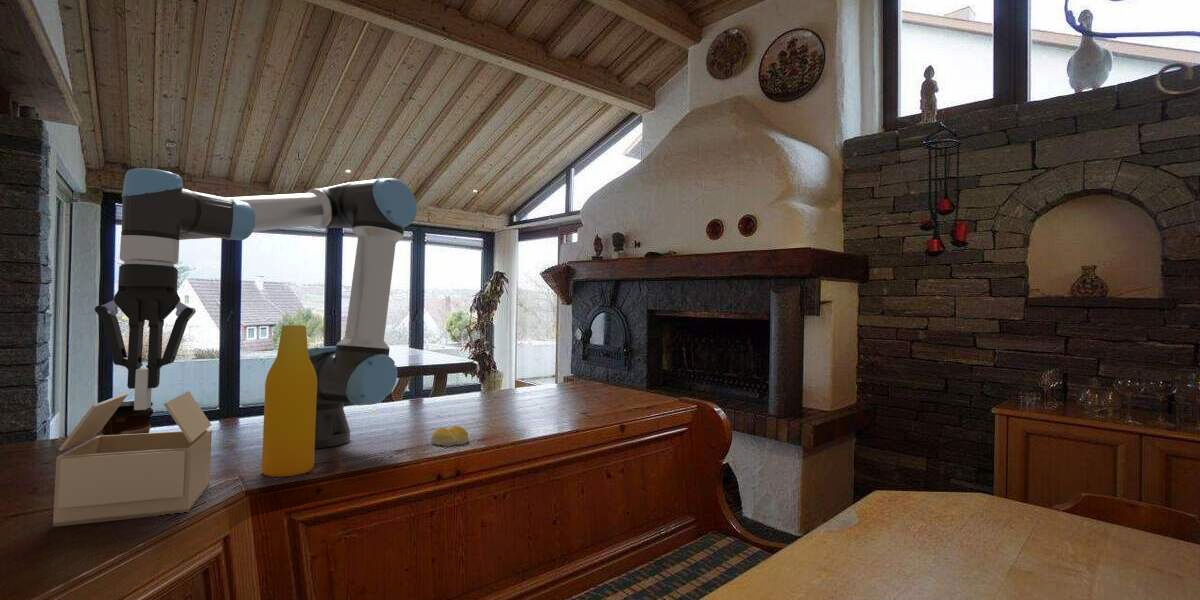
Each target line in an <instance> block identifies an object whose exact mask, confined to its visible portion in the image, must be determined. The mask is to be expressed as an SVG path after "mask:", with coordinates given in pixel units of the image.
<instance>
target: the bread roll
mask: <svg viewBox="0 0 1200 600" xmlns="http://www.w3.org/2000/svg"><path fill="white" fill-rule="evenodd" d="M430 440H431V441H430V442H431V443H432V444H433V445H435V444H436V445H435V446H440V445H443V446H442V447H451V446H455V445H456V446H459V445H460V446H461V445H465V444H467V443H469V441H470V439H469V433H468V431H467V430H466V428H464V427H462V426H459V425H458V426H457V425H454V426H451V427H449V428H446V427H444V428H438V429H436V430H435V431H434V432H433V433H432V434H431V438H430Z"/></svg>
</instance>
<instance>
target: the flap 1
mask: <svg viewBox="0 0 1200 600" xmlns="http://www.w3.org/2000/svg"><path fill="white" fill-rule="evenodd" d="M128 395H129V393H127V392H125V393H122V394H119V395H116V396H114V397H112V398H109V399H107V400H103V401H101V402H98V403H96V404H92V406H91V407H90V408H89V410H87V412H86V413H85V415H84V416H82V418H81V420H80V421H79V422H78V424H76V426H75V428H73V430H72V431H71V433H70V434H69V435H68V437H67V438H66V439H65V441H64V442H63V443H62V444H61V445H60V447H59V448H58V450H59V451H64V450H67V449H68V448H71V447H72V446H74V445H76V444H78V443H80V442H82V441H84V440H86V439H88V438H90V437H92V436H95V435H96V434H99V433H101V430H102V428H103V427H104V426H105V424H106V423H107V422H108V420H109V419H110V418H111V416H112V415H113V414H114V412H115V411H116V410H117V408H118V407H119V406H120V405H121V403H122V402H125V399H126V398H127V397H128Z"/></svg>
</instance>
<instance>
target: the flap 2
mask: <svg viewBox="0 0 1200 600" xmlns="http://www.w3.org/2000/svg"><path fill="white" fill-rule="evenodd" d="M163 406H164V407H165V408H166V411H167V412H168V414H169V415H170V416H171V417H172V419H173V421H175V423H176V425H177V426H178V428H179V429H180V430H181V431H182V432H183V434H184V435H185V437H186V438H187V439H188V441H189V442H192V441H194V440H195V439H196V438H197V437H198V436H199V435H201V434H202V433H203V432H204V431H205V430H208V428H210V427H211V426H212V423H211V422H210V420H209V419H208V417H207V415H206V414H205V413H204V411H203V410H202V408H201V407H200V405H199V404H198V402H197V401H196V399H195V397H194V396H193V395H192V393H191V392H190V390H188V391H187V392H184V393H183V394H179V396H177V397H175V398H173V399H170V400H169V401H166V402H165V403H163Z"/></svg>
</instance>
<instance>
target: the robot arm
mask: <svg viewBox="0 0 1200 600" xmlns="http://www.w3.org/2000/svg"><path fill="white" fill-rule="evenodd" d="M183 184H184V183H183V178H182V177H181V176H180V175H179V174H177V173H173V172H170V171H166V170H163V169H162V170H161V169H156V168H147V167H138V168H132V169H128V171H126V173H125V175H124V180H123V186H122V193H121V198H122V201H121V203H122V207H121V212H122V213H121V231H120V246H119V247H120V248H119V258H118V259H119V260H120V261H122V262H124V263H122V264H120V265H119V266H118V281H117V282H118V283H117V284H118V285H117V286H118V287H117V292H116V293H115V294H114V296H113V300H111V301H109V302H107V303H105V304H102V305H100V304H99V305H96V306H95V307H94V311H95V313H96V314H97V315H98V317H99V318H100V319H101V321H102V323H103V328H104V331H105V332H104V333H105V335H106V339H107V344H108V348H109V351H110V354H111V359H112V362H113V364H114V365H116V366H120V367H123V368H124V367H125V368H126V369H127V382H126V383H127V384H126V386H127V388H128V389H129V390H131V389H132V390H133V389H134V399H133V401H134V410H146V409H148V408H150V407H151V408H152V406H151V402H152V389H156V388H158V387H159V386H160V380H161V379H160V378H161V377H160V376H161V368H162V367H163V366H166V365H170V364H173V363H174V362H175V360H176V357H177V354H178V351H179V349H180V345H181V344H182V343H181V342H182V340H183V337H184V334H185V331H186V328H187V325H188V322H189V321H190V320H191V318H192V317H193V316H194V315H195V314H196V312H197V310H196V309H195V308H194V307H190V306H188V305H186V304H184V303H183V302H182V301H181V298H180V296H179V293H178V279H179V277H178V276H179V269H177V267H175V265H177V264H178V263H179V261H180V259H179V256H180V255H179V253H180V241H183V240H201V239H212V238H215V239H223V240H224V239H225V240H226V241H230V240H231V241H243V240H246V239H248V238H249V237H250V236H251V235H252V234H253V232H255V233H256V232H262V231H272V230H281V229H290V228H298V227H306V226H307V227H308V226H309V227H310V226H312V227H313V228H315V229H329V228H333V229H334V228H337V229H339V228H340V229H351V230H352V232H353V233H354V234H355V235H356V236H357V244H356V250H355V258H354V266H353V273H352V279H351V288H350V296H349V303H348V310H347V317H346V318H347V319H346V326H345V333H344V337H343V338H342V339H341V340H339V341H338V342H337V343H336V345H334V346H333V345H332V346H317V347H308V355H309V358H310V361H311V363H312V365H313V367H314V369H315V372H316V376H317V400H316V426H315V449H324V448H325V449H326V448H330V447H337V446H340V445H341V446H342V445H344V444H346V443H348V442H350V441H351V429H350V426H349V423H348V419H347V417H346V412H345V408H344V406H345V405H344V404H345V403H347V404H353V405H356V406H364V405H366V406H367V405H376V404H379V403H381V402H382V401H384V400H385V399H386V398H387V396H389V395H390V394H391V393H392V391H393V390H394V388H395V385H396V383H397V380H398V366H397V365H396V364H395V363H396V362H395V361H394V359H393V358H392V357H390V349H391V348H390V346H389V345H388V344H387V342H386V341H385V335H386V326H387V318H388V311H389V310H388V309H389V301H390V294H391V287H392V276H393V272H394V271H393V269H394V261H395V252H396V245H397V243H398V242H399V241H401V240H402V239H403V238H404V235H405V233H404V232H405V228H406V227H408V226H409V225H411V224H412V223H413V222H414V221H415V220H416V217H417V215H418V214H417V212H418V208H417V201H416V198H415V195H414V194H413V192H412V191H411V189H410V187H409V186H408V185H407V184H406V183H405V182H404V181H402V180H400V179H398V178H394V177H389V178H385V177H379V178H376V179H375V178H374V179H368V180H360V181H359V180H358V181H349V182H345V183H341V184H336V185H331V186H326V187H318V188H310V189H308V190H307V191H306V192H305V193H303V192H302V193H284V194H272V195H271V194H269V195H268V194H267V195H251V196H250V195H248V196H234V197H233V196H232V197H229V196H228V197H224V196H219V195H218V196H217V195H214V194H208V193H203V192H197V191H193V190H189V189H186V188H184V185H183ZM118 308H119V309H120V311H121V312H122V313H123V314H124V315H125V316H126V318H127V319H128V329H129V330H128V349H127V350H126V346H125V342H124V338H123V334H122V330H121V327H120V322H119V319H118V317H117V315H118V313H119V310H118ZM175 309H176V311H175ZM173 311H175V316H176V319H175V321H174V324H173V326H172V329H171V332H170V335H169V338H168V341H167V344H166V347H165V349H164V352H163V354H162V351H163V330H164V327H165V326H164V324H165V319H166V318H167V317H168V316H169V315H170V314H171V313H173ZM146 321H148V327H149V328H148V329H149V330H148V350H147V365H146V367H143V365H144V363H143V343H144V329H145V328H144V326H146Z"/></svg>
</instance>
